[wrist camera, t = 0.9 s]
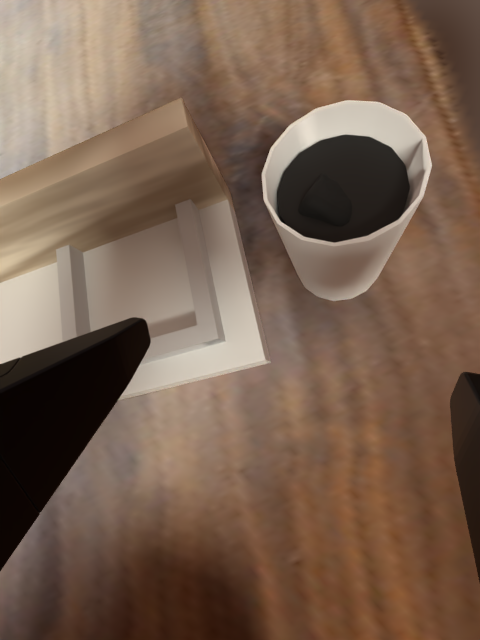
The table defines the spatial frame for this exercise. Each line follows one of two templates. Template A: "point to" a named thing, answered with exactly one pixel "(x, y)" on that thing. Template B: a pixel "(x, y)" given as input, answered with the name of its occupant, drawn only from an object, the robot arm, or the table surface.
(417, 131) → the white coffee cup
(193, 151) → the ash wall board
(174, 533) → the table surface
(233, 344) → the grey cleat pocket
